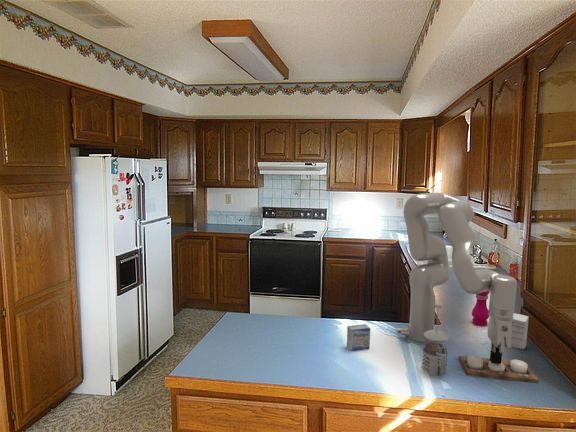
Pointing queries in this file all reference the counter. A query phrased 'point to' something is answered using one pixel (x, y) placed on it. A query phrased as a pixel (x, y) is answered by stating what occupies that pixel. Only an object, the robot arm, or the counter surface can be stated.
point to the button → (496, 366)
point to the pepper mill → (480, 309)
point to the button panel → (497, 374)
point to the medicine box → (358, 337)
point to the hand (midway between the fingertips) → (495, 362)
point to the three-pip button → (474, 362)
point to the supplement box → (519, 331)
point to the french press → (435, 350)
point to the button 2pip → (518, 366)
